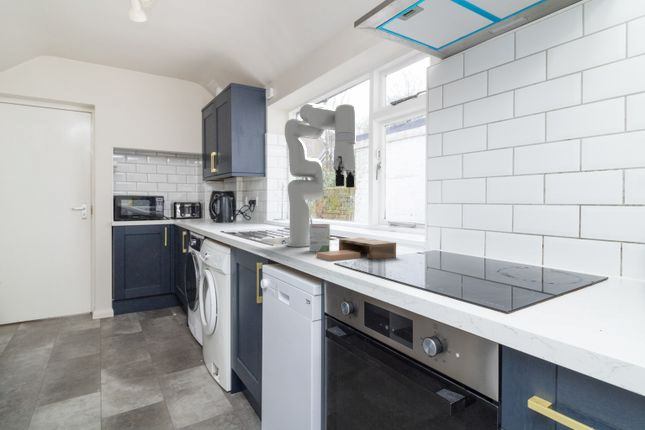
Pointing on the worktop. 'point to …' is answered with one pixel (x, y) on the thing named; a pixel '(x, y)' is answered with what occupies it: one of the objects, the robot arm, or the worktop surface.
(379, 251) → the shelf
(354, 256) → the tile
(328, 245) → the ink box
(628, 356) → the worktop surface
